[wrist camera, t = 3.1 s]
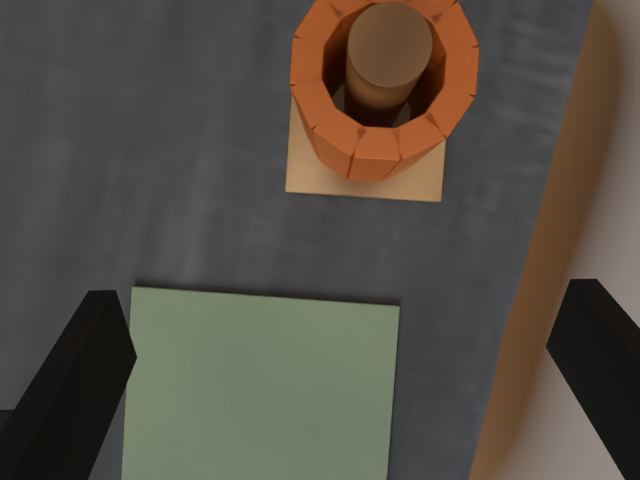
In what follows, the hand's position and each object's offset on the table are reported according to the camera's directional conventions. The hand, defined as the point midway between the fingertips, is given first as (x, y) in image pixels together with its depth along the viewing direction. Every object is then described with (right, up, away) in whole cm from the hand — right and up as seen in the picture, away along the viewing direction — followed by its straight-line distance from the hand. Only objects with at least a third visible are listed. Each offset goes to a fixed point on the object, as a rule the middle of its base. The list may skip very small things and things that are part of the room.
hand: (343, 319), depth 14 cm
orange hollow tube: (+2, +10, +15) cm, 19 cm away
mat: (-5, -11, +18) cm, 21 cm away
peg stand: (+2, +10, +17) cm, 20 cm away
